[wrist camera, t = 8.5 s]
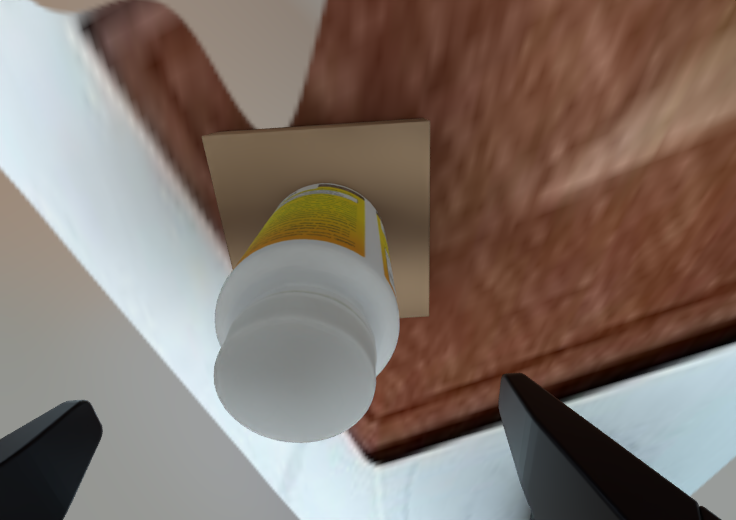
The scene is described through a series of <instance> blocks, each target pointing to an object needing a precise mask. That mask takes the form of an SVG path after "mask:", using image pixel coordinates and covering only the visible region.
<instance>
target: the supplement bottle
mask: <svg viewBox="0 0 736 520" xmlns="http://www.w3.org/2000/svg"><path fill="white" fill-rule="evenodd" d="M215 328H216V334H217V338H218V341H219V343H220V346H221V349H220V351H219V353H218V356H217V359H216V362H215V366H214V384H215V388H216V392H217V395H218V397H219V399H220V401H221V403H222V404H223V406H224V408H225V409H226V410H227V411H228V413H229V414H230V415H231V416H232V417H233V418H234V419H235V420H237V421H238V422H239V423H240V424H241V425H243V426H244V427H246V428H248V429H249V430H251V431H253V432H255V433H257V434H259V435H261V436H264V437H267V438H271V439H274V440H278V441H284V442H295V443H307V442H315V441H320V440H325V439H328V438H331V437H334V436H336V435H338V434H341V433H342V432H344V431H346V430H348V429H349V428H350V427H352V426H353V425H355V424H356V423H357V422H358V421H359V420H360V419H361V418H362V417H363V415H364V414H365V413H366V411H367V410H368V408H369V406H370V404H371V402H372V400H373V397H374V392H375V387H376V376H377V375H378V374H379V373H380V372H381V371H382V370H383V369H384V367H385V366H386V365H387V363H388V362H389V360H390V358H391V356H392V354H393V352H394V350H395V347H396V344H397V340H398V336H399V310H398V303H397V297H396V291H395V286H394V280H393V274H392V268H391V262H390V256H389V250H388V245H387V240H386V234H385V230H384V226H383V223H382V220H381V218H380V216H379V214H378V212H377V211H376V209H375V208H374V206H373V205H372V204H371V203H370V202H369V201H368V200H367V199H366V198H365V197H363V196H362V195H361V194H359V193H358V192H356V191H354V190H352V189H350V188H347V187H345V186H341V185H337V184H330V183H320V184H313V185H309V186H306V187H303V188H301V189H299V190H297V191H295V192H293V193H292V194H290V195H289V196H288V197H287V198H285V199H284V200H283V201H282V202H281V204H280V205H279V206H278V207H277V209H276V210H275V211H274V213H273V214H272V216H271V217H270V218H269V220H268V221H267V223H266V224H265V225H264V227H263V228H262V230H261V231H260V233H259V234H258V235H257V237H256V238H255V240H254V241H253V242H252V244H251V245H250V247H249V248H248V249H247V251H246V252H245V254H244V255H243V257H242V258H241V260H240V261H239V262H238V264H237V265H236V266H235V268H234V269H233V271H232V272H231V274H230V275H229V277H228V278H227V280H226V282H225V283H224V285H223V287H222V289H221V292H220V294H219V297H218V300H217V304H216V310H215Z"/></svg>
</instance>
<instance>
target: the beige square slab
mask: <svg viewBox="0 0 736 520" xmlns="http://www.w3.org/2000/svg"><path fill="white" fill-rule="evenodd" d="M202 141H203V145H204V149H205V153H206V158H207V162H208V166H209V170H210V175H211V179H212V183H213V187H214V192H215V196H216V200H217V204H218V209H219V213H220V217H221V222H222V226H223V230H224V234H225V239H226V243H227V247H228V251H229V256H230V260H231V264H232V268H233V269H234V268H235V266H236V265H237V264H238V262H239V261H240V260H241V258H242V257H243V255H244V254H245V252H246V251H247V249H248V248H249V247H250V245H251V244H252V242H253V241H254V240H255V238H256V237H257V235H258V234H259V233H260V231H261V230H262V228H263V227H264V225H265V224H266V223H267V221H268V220H269V218H270V217H271V216H272V214H273V213H274V211H275V210H276V209H277V207H278V206H279V205H280V204H281V202H282V201H283V200H284V199H285V198H287V197H288V196H289V195H290V194H292V193H293V192H295V191H297V190H299V189H301V188H303V187H306V186H309V185H313V184H320V183H330V184H337V185H341V186H345V187H347V188H350V189H352V190H354V191H356V192H358V193H359V194H361V195H362V196H363V197H365V198H366V199H367V200H368V201H369V202H370V203H371V204H372V205H373V206H374V208H375V209H376V211H377V212H378V214H379V216H380V218H381V220H382V223H383V226H384V230H385V234H386V240H387V245H388V250H389V256H390V262H391V268H392V274H393V280H394V286H395V291H396V297H397V303H398V310H399V318H408V317H425V316H429V227H430V121H429V120H427V119H424V118H417V119H402V120H387V121H372V122H358V123H343V124H328V125H313V126H298V127H283V128H270V129H254V130H239V131H224V132H216V133H212V134H208V135H205V136H202Z"/></svg>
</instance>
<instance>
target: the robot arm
mask: <svg viewBox="0 0 736 520" xmlns="http://www.w3.org/2000/svg"><path fill="white" fill-rule="evenodd" d="M499 412H500V416H501V419H502V422H503V426H504V429H505V433H506V436H507V439H508V443H509V446H510V450H511V453H512V456H513V460H514V463H515V467H516V470H517V473H518V477H519V480H520V483H521V486H522V489H523V491H524V494H525V496H526V499H527V501H528V504H529V506H530V509H531V511H532V514H531V520H721V519H720V518H718V517H717V516H716V515H715V514H713V513H712V512H710V511H709V510H708V509H706V508H705V507H703V506H699V505H698V503H697V502H696V501H695V500H694V499H693V498H691V497H690V496H688V495H687V494H686V493H684V492H683V491H682V490H680V489H679V488H678V487H676V486H675V485H674V484H672V483H671V482H670V481H668V480H667V479H665V478H664V477H663V476H661V475H660V474H659V473H657V472H656V471H655V470H653V469H652V468H651V467H649V466H648V465H646V464H645V463H644V462H642V461H641V460H640V459H638V458H637V457H636V456H634V455H633V454H632V453H630V452H629V451H627V450H626V449H625V448H623V447H622V446H621V445H619V444H618V443H617V442H615V441H614V440H613V439H611V438H610V437H608V436H607V435H606V434H604V433H603V432H602V431H600V430H599V429H598V428H596V427H595V426H594V425H592V424H591V423H590V422H588V421H587V420H585V419H584V418H583V417H581V416H580V415H579V414H577V413H576V412H575V411H573V410H572V409H571V408H569V407H568V406H566V405H565V404H564V403H562V402H561V401H560V400H558V399H557V398H556V397H554V396H553V395H552V394H550V393H549V392H547V391H546V390H545V389H543V388H542V387H541V386H539V385H538V384H537V383H535V382H534V381H533V380H531V379H530V378H528V377H527V376H526V375H524V374H522V373H508V374H504V375H502V378H501V384H500V393H499ZM102 432H103V430H102V425H101V423H100V421H99V419H98V417H97V415H96V413H95V411H94V409H93V406H92V405H91V403H90V402H89V401H87V400H73V401H66V402H64V403H62V404H60V405H58V406H57V407H55V408H53V409H51V410H50V411H48V412H46V413H45V414H43V415H41V416H40V417H38V418H36V419H34V420H33V421H31V422H29V423H27V424H26V425H24V426H22V427H21V428H19V429H17V430H15V431H14V432H12V433H11V434H8V435H7V436H5V437H3V438H2V439H0V520H63V519H64V517H65V515H66V513H67V511H68V509H69V507H70V505H71V503H72V501H73V499H74V497H75V494H76V492H77V490H78V488H79V486H80V483H81V481H82V479H83V477H84V474H85V472H86V470H87V468H88V466H89V464H90V462H91V459H92V457H93V455H94V453H95V451H96V448H97V446H98V444H99V442H100V440H101V437H102Z"/></svg>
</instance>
